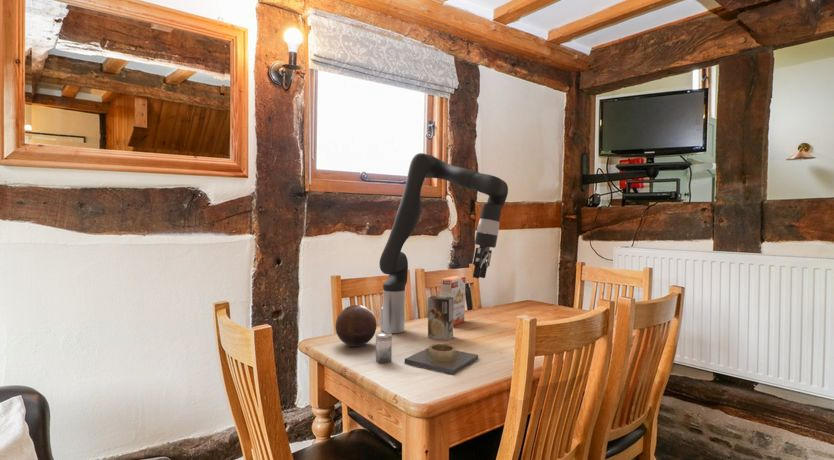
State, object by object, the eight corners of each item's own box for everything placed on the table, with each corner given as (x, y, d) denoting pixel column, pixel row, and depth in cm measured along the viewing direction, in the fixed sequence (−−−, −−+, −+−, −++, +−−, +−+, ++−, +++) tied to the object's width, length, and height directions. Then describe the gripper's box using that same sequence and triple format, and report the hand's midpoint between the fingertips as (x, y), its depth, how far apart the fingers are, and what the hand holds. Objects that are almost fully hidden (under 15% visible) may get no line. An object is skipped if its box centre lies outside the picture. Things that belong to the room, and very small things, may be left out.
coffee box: (454, 336, 178) (454, 297, 178) (449, 340, 173) (449, 299, 172) (432, 334, 182) (433, 295, 181) (426, 338, 176) (427, 297, 175)
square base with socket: (404, 363, 145) (404, 349, 145) (432, 349, 161) (433, 337, 160) (453, 374, 136) (453, 360, 136) (478, 359, 151) (478, 346, 151)
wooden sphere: (383, 348, 162) (383, 307, 162) (344, 354, 154) (344, 311, 154) (366, 338, 175) (366, 300, 174) (329, 343, 167) (329, 303, 167)
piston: (372, 361, 147) (372, 334, 147) (382, 357, 151) (382, 331, 151) (385, 364, 144) (385, 337, 144) (394, 360, 148) (395, 333, 148)
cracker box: (451, 327, 193) (452, 279, 192) (439, 325, 196) (439, 278, 195) (465, 321, 205) (466, 276, 204) (453, 319, 208) (454, 275, 207)
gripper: (481, 232, 166) (474, 275, 166) (471, 229, 153) (463, 275, 153) (501, 236, 163) (493, 279, 163) (493, 233, 150) (484, 280, 150)
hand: (479, 277), depth 158 cm, fingers open, 8 cm apart
